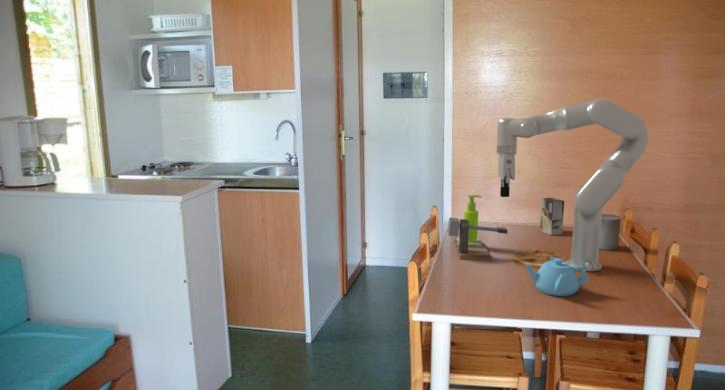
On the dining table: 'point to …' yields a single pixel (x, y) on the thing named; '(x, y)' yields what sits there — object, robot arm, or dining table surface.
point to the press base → (469, 245)
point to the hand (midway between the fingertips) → (504, 196)
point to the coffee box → (552, 216)
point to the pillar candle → (609, 232)
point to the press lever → (455, 225)
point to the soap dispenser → (472, 218)
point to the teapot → (558, 277)
